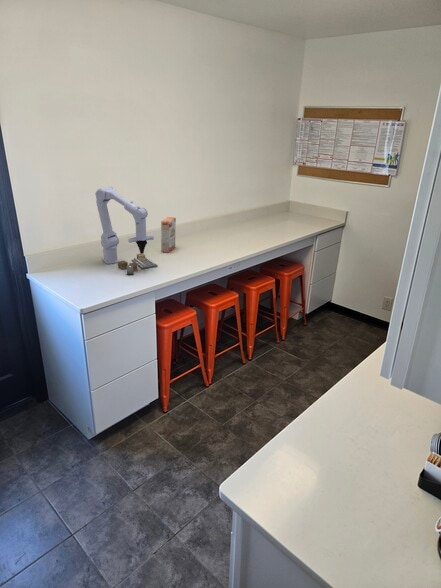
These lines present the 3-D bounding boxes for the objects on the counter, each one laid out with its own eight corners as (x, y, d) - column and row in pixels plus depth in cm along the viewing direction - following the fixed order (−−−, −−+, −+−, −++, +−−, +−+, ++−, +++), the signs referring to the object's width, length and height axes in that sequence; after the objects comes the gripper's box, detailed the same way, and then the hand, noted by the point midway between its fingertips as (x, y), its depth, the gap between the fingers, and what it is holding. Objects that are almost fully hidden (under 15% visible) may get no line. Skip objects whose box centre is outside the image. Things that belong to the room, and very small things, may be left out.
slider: (136, 259, 245) (136, 253, 244) (142, 258, 248) (142, 252, 246) (139, 261, 242) (139, 255, 241) (145, 260, 245) (145, 254, 243)
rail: (131, 261, 245) (131, 257, 244) (146, 258, 250) (146, 255, 249) (142, 269, 233) (142, 265, 232) (157, 266, 238) (157, 263, 237)
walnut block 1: (118, 268, 234) (117, 261, 232) (124, 266, 236) (123, 260, 235) (121, 270, 231) (121, 263, 229) (127, 268, 234) (127, 262, 232)
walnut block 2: (129, 269, 232) (129, 263, 231) (136, 269, 234) (136, 262, 232) (130, 271, 229) (130, 265, 227) (137, 271, 230) (137, 264, 229)
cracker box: (169, 253, 263) (169, 222, 254) (161, 252, 264) (160, 221, 255) (176, 247, 275) (176, 217, 267) (167, 246, 276) (167, 216, 268)
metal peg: (126, 273, 226) (125, 265, 224) (132, 272, 228) (131, 264, 226) (128, 275, 223) (127, 267, 221) (134, 274, 225) (134, 266, 223)
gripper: (131, 233, 218) (132, 256, 223) (155, 230, 225) (156, 253, 231) (126, 230, 223) (127, 253, 229) (150, 227, 231) (151, 249, 236)
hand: (141, 253), depth 230 cm, fingers closed
